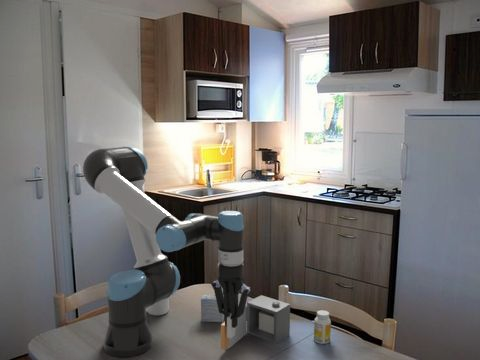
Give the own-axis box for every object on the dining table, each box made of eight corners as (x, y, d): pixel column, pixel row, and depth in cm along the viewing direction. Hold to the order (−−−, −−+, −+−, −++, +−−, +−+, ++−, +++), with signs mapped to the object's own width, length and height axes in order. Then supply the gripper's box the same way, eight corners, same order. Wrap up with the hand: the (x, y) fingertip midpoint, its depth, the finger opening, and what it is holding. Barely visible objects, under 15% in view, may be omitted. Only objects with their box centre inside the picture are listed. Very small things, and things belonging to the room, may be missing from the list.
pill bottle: (158, 305, 183) (157, 268, 180) (173, 310, 178) (172, 272, 176) (142, 312, 176) (141, 273, 174) (158, 318, 172) (157, 278, 169)
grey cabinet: (242, 331, 162) (242, 298, 160) (256, 323, 168) (256, 291, 166) (276, 344, 153) (276, 309, 151) (289, 335, 159) (290, 301, 157)
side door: (243, 332, 160) (243, 304, 158) (246, 333, 159) (246, 305, 158) (220, 351, 147) (220, 321, 145) (224, 352, 146) (224, 322, 145)
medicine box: (224, 317, 172) (224, 295, 171) (222, 323, 168) (222, 299, 167) (203, 316, 173) (202, 294, 172) (200, 322, 169) (200, 298, 167)
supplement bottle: (315, 344, 153) (315, 316, 152) (312, 336, 159) (313, 309, 157) (331, 344, 153) (332, 316, 152) (328, 336, 158) (329, 309, 157)
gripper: (206, 262, 142) (206, 336, 146) (244, 269, 136) (243, 346, 139) (218, 256, 149) (219, 326, 152) (255, 262, 142) (255, 335, 146)
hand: (231, 336), depth 146 cm, fingers closed
